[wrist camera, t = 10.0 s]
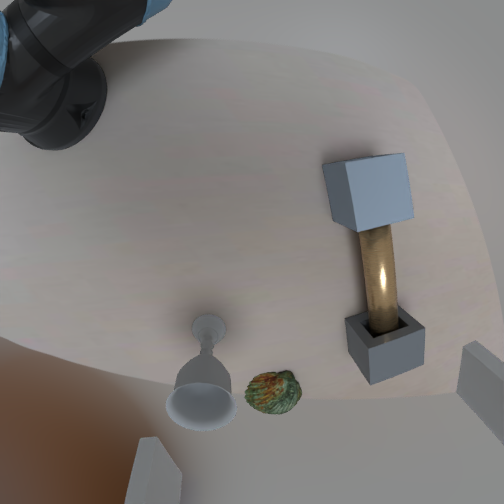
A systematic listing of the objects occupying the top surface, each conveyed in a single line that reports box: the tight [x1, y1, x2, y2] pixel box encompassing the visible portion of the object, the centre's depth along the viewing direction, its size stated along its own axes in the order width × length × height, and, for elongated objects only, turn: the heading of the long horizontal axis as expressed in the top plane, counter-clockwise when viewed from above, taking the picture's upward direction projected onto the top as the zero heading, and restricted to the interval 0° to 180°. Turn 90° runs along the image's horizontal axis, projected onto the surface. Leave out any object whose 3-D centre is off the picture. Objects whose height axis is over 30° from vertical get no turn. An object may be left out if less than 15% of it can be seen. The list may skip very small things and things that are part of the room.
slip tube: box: [359, 224, 398, 338], centre depth 41 cm, size 22×4×4 cm, turn 13°
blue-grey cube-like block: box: [322, 153, 414, 232], centre depth 39 cm, size 8×8×9 cm
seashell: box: [245, 371, 302, 414], centre depth 49 cm, size 10×4×10 cm
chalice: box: [166, 314, 237, 431], centre depth 38 cm, size 7×7×18 cm
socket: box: [345, 306, 425, 385], centre depth 44 cm, size 6×9×10 cm
